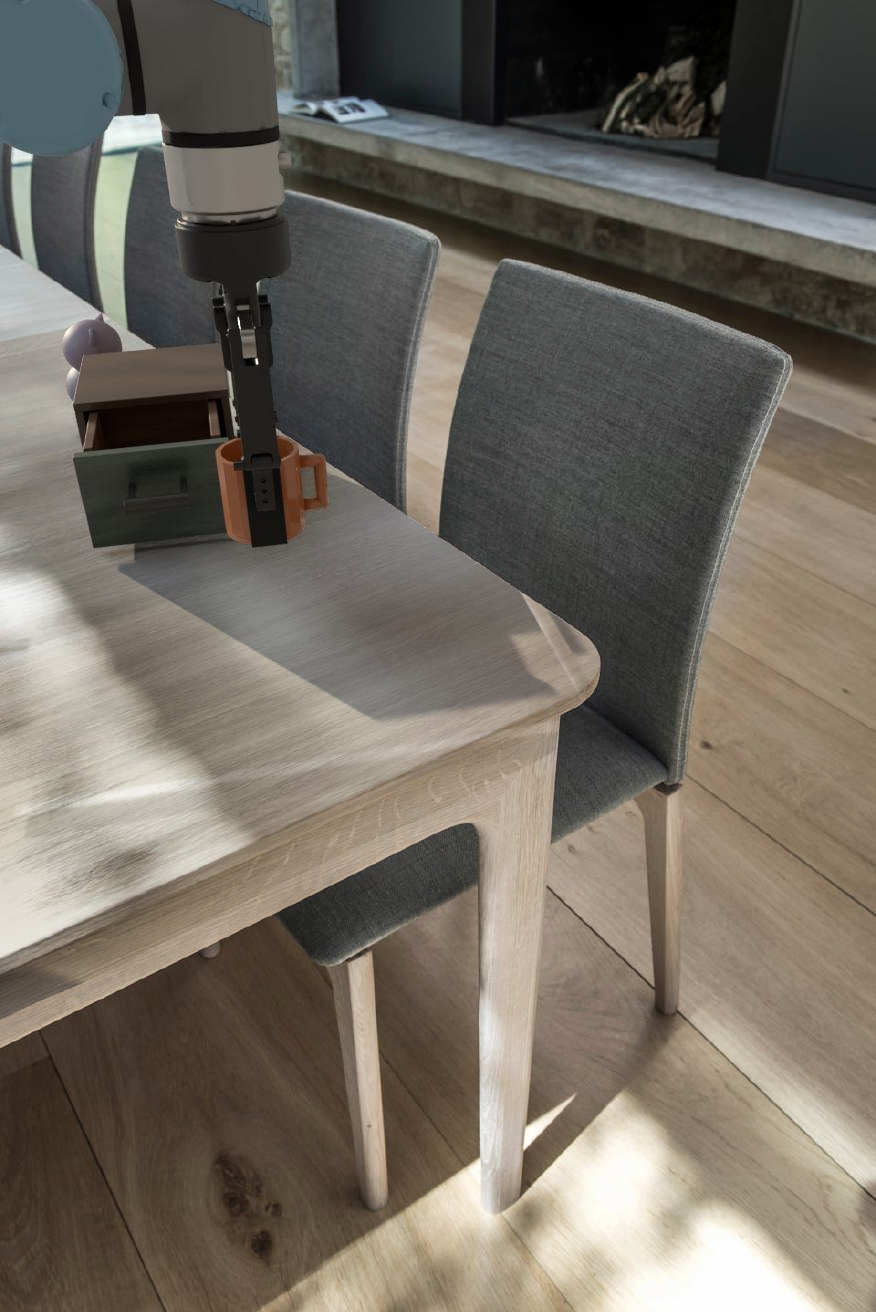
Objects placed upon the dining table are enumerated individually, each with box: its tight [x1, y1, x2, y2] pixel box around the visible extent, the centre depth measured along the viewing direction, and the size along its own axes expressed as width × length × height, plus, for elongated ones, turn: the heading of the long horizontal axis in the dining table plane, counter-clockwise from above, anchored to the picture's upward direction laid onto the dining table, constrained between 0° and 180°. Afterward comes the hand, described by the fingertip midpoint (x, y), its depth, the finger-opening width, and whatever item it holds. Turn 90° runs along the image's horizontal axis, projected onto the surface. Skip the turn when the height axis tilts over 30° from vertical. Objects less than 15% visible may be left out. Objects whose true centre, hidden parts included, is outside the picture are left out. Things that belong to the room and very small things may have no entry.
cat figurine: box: [61, 311, 123, 402], centre depth 121 cm, size 8×8×12 cm
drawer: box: [72, 399, 229, 549], centre depth 98 cm, size 19×13×9 cm
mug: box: [216, 434, 330, 546], centre depth 81 cm, size 8×6×6 cm
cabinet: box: [72, 342, 236, 452], centre depth 110 cm, size 16×15×11 cm
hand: (265, 523), depth 83 cm, fingers closed on mug, 6 cm apart
